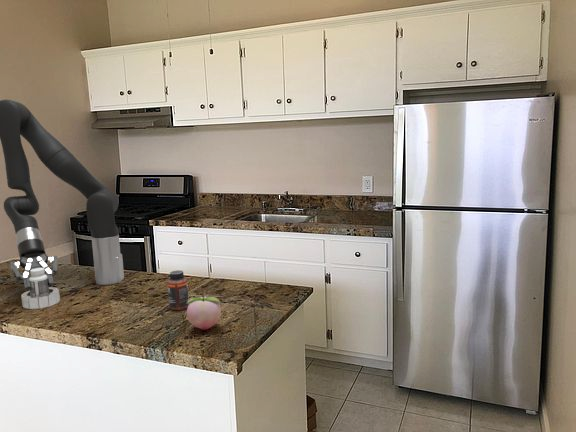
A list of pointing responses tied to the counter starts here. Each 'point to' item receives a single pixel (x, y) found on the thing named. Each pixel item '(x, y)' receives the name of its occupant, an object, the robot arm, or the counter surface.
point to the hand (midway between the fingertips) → (40, 287)
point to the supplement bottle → (177, 291)
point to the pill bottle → (38, 282)
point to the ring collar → (40, 299)
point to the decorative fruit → (203, 312)
